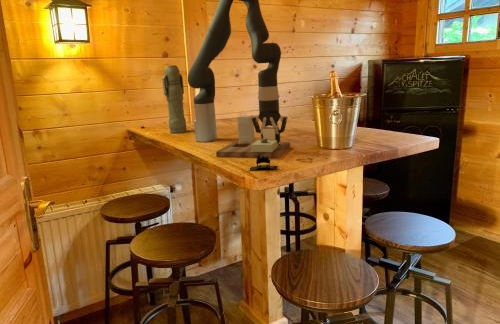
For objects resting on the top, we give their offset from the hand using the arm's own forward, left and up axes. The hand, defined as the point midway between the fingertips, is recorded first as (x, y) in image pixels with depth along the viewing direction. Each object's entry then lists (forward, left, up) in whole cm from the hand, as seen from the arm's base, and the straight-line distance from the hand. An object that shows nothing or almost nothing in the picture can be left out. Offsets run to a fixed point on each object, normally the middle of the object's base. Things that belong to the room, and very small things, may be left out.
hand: (270, 143), depth 149 cm
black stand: (+4, -24, -4) cm, 25 cm away
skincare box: (-15, +14, -4) cm, 21 cm away
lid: (0, -8, -1) cm, 9 cm away
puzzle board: (-6, -3, -3) cm, 7 cm away
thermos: (-64, +42, -4) cm, 77 cm away
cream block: (0, 0, -2) cm, 2 cm away
